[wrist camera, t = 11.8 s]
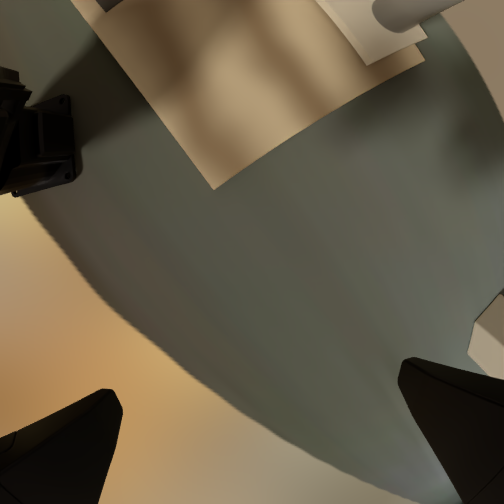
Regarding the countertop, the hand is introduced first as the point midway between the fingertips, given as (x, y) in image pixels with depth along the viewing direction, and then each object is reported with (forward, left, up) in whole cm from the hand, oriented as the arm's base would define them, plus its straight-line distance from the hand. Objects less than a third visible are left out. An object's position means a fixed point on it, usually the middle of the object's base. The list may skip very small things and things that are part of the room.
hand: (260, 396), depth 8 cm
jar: (+28, -12, -13) cm, 33 cm away
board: (+1, +20, -13) cm, 24 cm away
